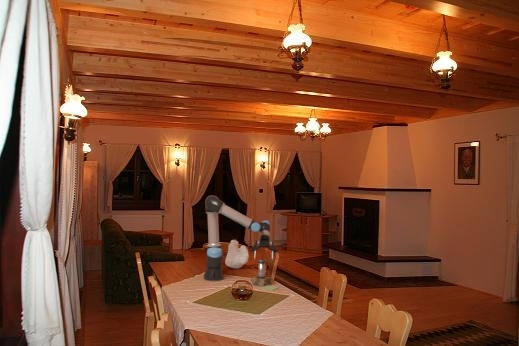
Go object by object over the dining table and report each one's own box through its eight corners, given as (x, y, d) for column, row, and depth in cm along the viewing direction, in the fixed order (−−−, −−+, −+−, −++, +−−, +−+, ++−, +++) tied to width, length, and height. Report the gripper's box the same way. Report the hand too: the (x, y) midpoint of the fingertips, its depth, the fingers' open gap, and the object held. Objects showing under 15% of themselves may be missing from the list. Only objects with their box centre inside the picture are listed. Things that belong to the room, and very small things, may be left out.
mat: (260, 288, 291) (260, 287, 291) (266, 286, 300) (267, 285, 300) (273, 290, 286) (273, 289, 286) (279, 288, 295) (279, 287, 295)
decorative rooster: (221, 266, 370) (223, 239, 371) (236, 265, 379) (237, 238, 380) (236, 271, 349) (237, 242, 351) (251, 270, 358) (252, 242, 360)
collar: (251, 284, 302) (251, 277, 303) (258, 282, 312) (258, 275, 312) (264, 286, 297) (264, 279, 297) (270, 284, 307) (271, 277, 307)
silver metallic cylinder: (254, 284, 303) (255, 260, 304) (259, 283, 309) (260, 259, 310) (262, 285, 300) (263, 261, 301) (267, 284, 306) (268, 260, 307)
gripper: (280, 240, 332) (279, 262, 317) (249, 239, 334) (247, 261, 318) (280, 234, 327) (279, 256, 312) (249, 233, 329) (247, 255, 313)
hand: (263, 258), depth 315 cm, fingers open, 13 cm apart
